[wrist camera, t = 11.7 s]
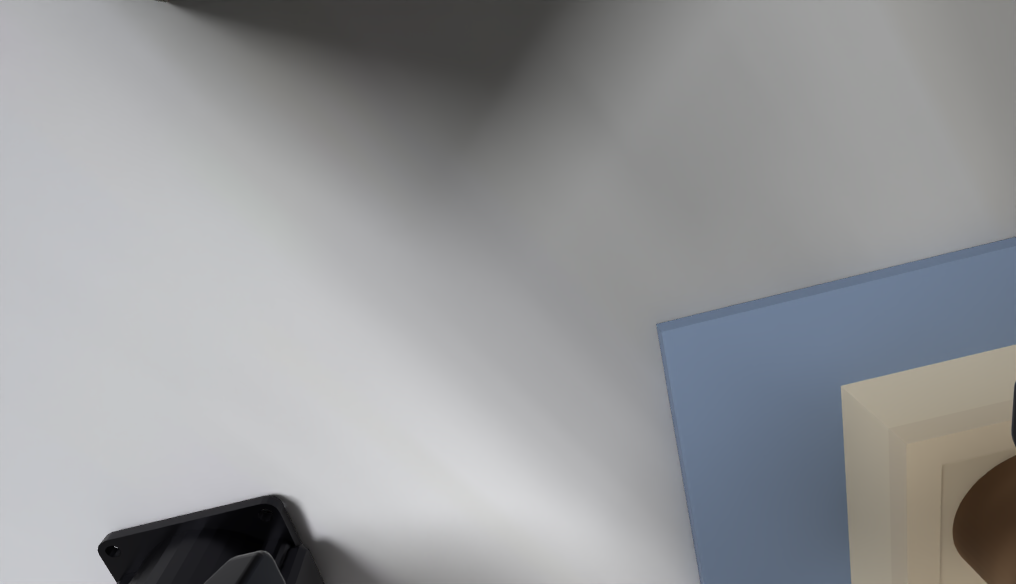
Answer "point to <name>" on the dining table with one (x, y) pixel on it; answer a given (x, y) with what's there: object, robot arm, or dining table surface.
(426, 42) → the dining table surface
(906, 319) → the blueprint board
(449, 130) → the dining table surface
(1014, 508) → the walnut column
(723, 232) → the dining table surface
